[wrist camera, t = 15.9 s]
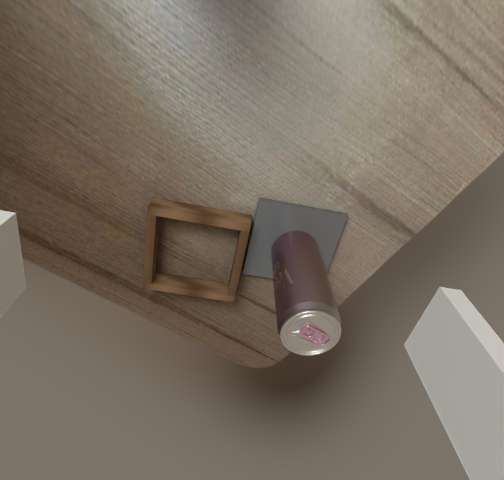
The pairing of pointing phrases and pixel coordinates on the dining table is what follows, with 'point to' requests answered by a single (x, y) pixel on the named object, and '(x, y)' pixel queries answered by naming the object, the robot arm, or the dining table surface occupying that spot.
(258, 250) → the slate coaster
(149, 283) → the walnut holder
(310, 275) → the beverage can
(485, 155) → the dining table surface
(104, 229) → the dining table surface
